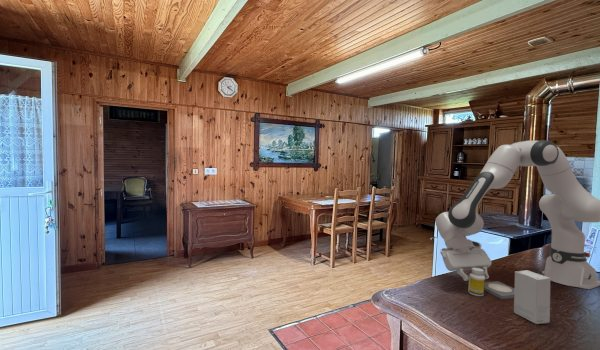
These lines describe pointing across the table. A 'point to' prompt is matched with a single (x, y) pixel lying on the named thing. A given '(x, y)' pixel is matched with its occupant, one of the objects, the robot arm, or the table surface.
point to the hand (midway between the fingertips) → (477, 279)
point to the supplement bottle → (476, 282)
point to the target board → (499, 290)
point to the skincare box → (532, 296)
